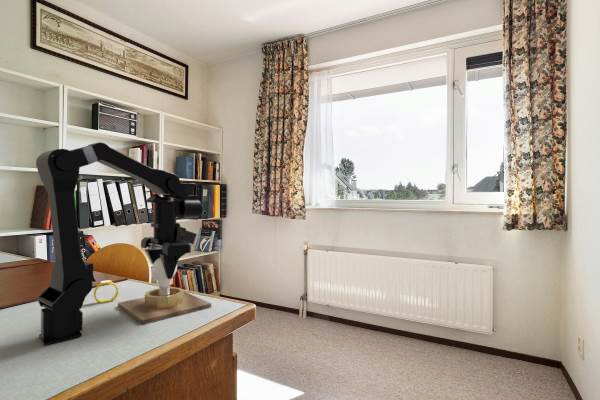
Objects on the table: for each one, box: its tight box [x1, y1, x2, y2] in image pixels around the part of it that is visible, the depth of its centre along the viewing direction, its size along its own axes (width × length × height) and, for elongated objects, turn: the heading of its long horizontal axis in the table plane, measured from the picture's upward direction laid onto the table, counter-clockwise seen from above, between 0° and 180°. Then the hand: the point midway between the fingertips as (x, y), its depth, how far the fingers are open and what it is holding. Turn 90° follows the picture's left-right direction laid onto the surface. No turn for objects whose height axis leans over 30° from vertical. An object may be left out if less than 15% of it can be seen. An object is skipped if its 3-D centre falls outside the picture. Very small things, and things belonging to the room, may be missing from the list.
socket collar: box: [144, 286, 185, 309], centre depth 90 cm, size 10×10×3 cm
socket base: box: [117, 291, 212, 325], centre depth 90 cm, size 18×18×1 cm
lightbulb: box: [151, 257, 178, 296], centre depth 90 cm, size 6×6×11 cm
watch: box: [93, 279, 119, 304], centre depth 94 cm, size 6×3×6 cm, turn 127°
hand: (164, 276), depth 90 cm, fingers closed on lightbulb, 6 cm apart
